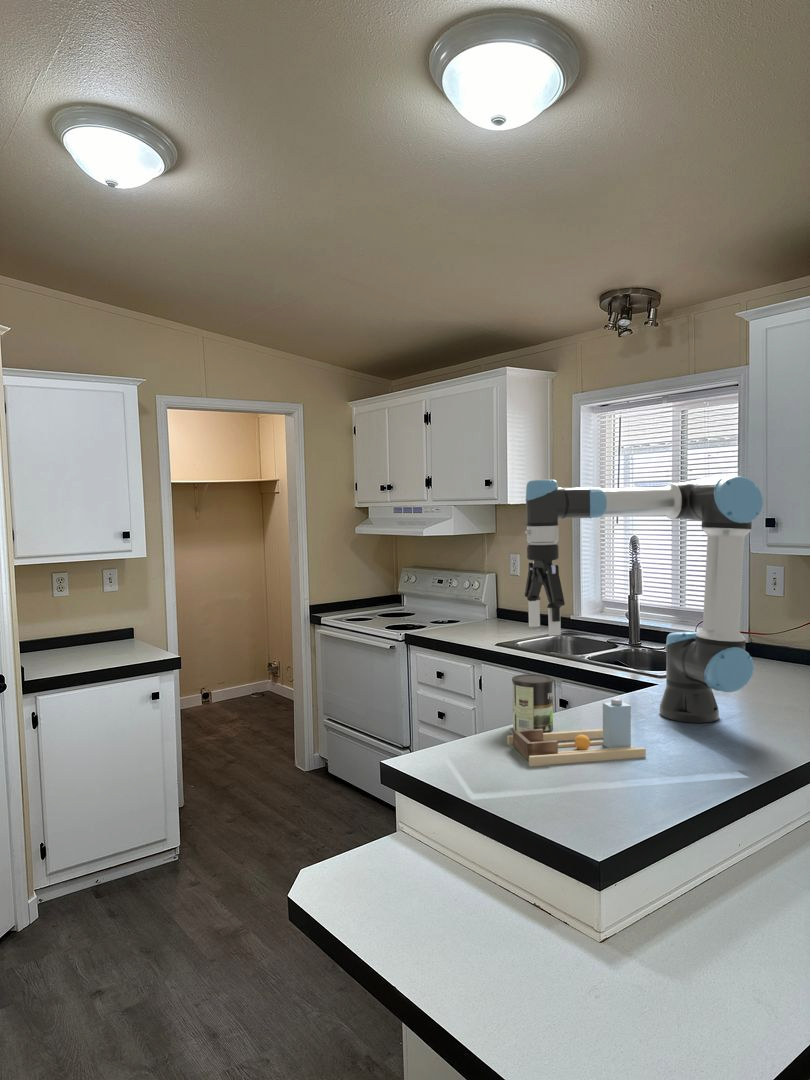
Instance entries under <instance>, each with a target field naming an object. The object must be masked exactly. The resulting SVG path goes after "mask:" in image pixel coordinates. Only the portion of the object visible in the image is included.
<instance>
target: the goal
mask: <svg viewBox="0 0 810 1080" xmlns="http://www.w3.org/2000/svg"><path fill="white" fill-rule="evenodd" d="M512 733H513V734H512V735H513V748H514V749H515V750H516V751H517V752H518V753H519V754H520V755H522V756H523V757H524V758H525V759H526V760H527V761H528V762H529V756H534V755H548V754H558V752H559V748H558V744H559V741H556V740H554V741H543V729H532V730H517V731H515V730H513V732H512Z"/></svg>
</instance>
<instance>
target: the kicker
mask: <svg viewBox="0 0 810 1080" xmlns="http://www.w3.org/2000/svg"><path fill="white" fill-rule="evenodd" d="M631 710H632V707H631V705H630V704H628V703H626V702H625V701H623V700H622V699H620V698H612V699H611V701H608V702H602V729H603V738H602V741H603V744H602V746H604V747H605V748H619V747H632V745H631V743H632V736H631V735H632V734H631V733H632V730H631V729H632V728H631V727H632V726H631V724H632V721H631V719H632V712H631Z"/></svg>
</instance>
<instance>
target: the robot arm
mask: <svg viewBox="0 0 810 1080" xmlns="http://www.w3.org/2000/svg"><path fill="white" fill-rule="evenodd" d="M763 502H764V499H763V495H762V492H761V490H760V487H758V485H757V484H756V483H755V482H754V481H753V480H752V479H750V478H748V477H745V476H740V475H724V476H715V477H705V478H700V479H696V480H695V479H694V480H689V481H685V482H684V481H683V482H670V483H668V484H667V485H665V486H659V487H658V486H657V487H655V486H654V487H652V486H651V487H619V488H618V487H615V488H614V487H613V488H612V487H610V488H608V487H607V488H602V487H593V486H587V487H585V486H584V487H582V486H581V487H559V486H558V481H557V480H555V479H538V480H537V479H534V480H533V479H532V480H529V481H528V482H527V483H526V488H525V506H526V507H525V508H526V509H525V510H526V511H525V512H526V530H525V531H524V533H525V534H526V542H527V543H529V544H528V545H527V546H526V559H527V560H529V562H528V573H527V577H526V578H527V579H526V585H525V590H524V591H525V592H524V597H525V598H526V599H527V601H528V627H529V628H536V627H538V628H539V627H541V613H540V612H541V611H540V609H541V606H540V602H541V597H540V593H541V590H542V586H543V588H544V592H545V593H546V599H547V601H548V605H547V612H548V613H547V614H548V616H547V617H548V618H547V619H548V636H549V637H553V636H561V635H562V634H561V633H562V629H561V625H562V623H561V621H562V620H561V608H562V607H564V606H565V598H564V592H563V589H562V583H561V578H560V574H559V573H560V571H559V570H560V568H559V565H558V564H553V561H557V560H558V559H559V550H560V549H559V545H558V544H557V543H558V542H559V536H560V535H559V519H560V520H561V519H562V520H563V519H594V518H595V519H596V518H597V519H598V518H610V517H612V518H613V517H615V518H617V517H643V516H644V517H647V516H648V517H649V516H651V517H653V516H666V517H667V518H668V519H671V520H677V519H678V520H679V519H680V520H689V521H697V522H701V529H702V531H703V532H704V533H705V534H706V536H707V540H706V541H707V544H706V545H707V546H706V560H705V561H706V562H705V578H704V579H705V581H704V595H703V598H704V600H703V617H702V618H703V620H702V629H701V630H699V631H676V632H670V633H669V634H667V636H666V643H665V651H666V652H665V653H666V654H665V656H666V657H665V658H666V659H665V662H666V663H665V665H666V666H665V667H666V668H665V671H666V672H665V673H666V675H665V677H666V683H665V684H666V685H665V689H664V692H663V695H662V698H661V701H660V704H659V715H660V716H662V717H664V718H666V719H669V720H672V721H677V722H684V723H693V724H699V723H700V724H703V723H712V722H716V721H718V720H719V718H720V710H719V706H718V704H717V700H716V697H715V694H714V692H713V690H714V691H718V692H723V693H735V692H739V691H740V690H742V689H743V688H744V687H745V686H747V684H749V682H750V681H751V679H752V677H753V674H754V671H755V663H754V660H753V657H752V656H751V655H750V653H749V652H748V651H746V637H744V635H743V634H742V633H741V631H740V628H741V627H740V626H741V625H740V624H741V609H742V607H741V606H742V591H743V590H742V588H743V587H742V586H743V569H744V568H743V567H744V552H745V551H744V549H745V537H746V536H747V535H748V534H749V533H750V532H752V526H753V525H752V523H753V521H754V520H755V519H757V516H758V515H760V514H761V512H762V510H763V504H764V503H763Z"/></svg>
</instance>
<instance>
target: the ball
mask: <svg viewBox="0 0 810 1080" xmlns="http://www.w3.org/2000/svg"><path fill="white" fill-rule="evenodd" d="M590 741H591V739H589V738H588V737H587V736H585V735H579V736H577V737H576V739H575V740H574V743H575V746H574V747H576V749H577V750H589V748H590V747H591V745H590Z"/></svg>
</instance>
